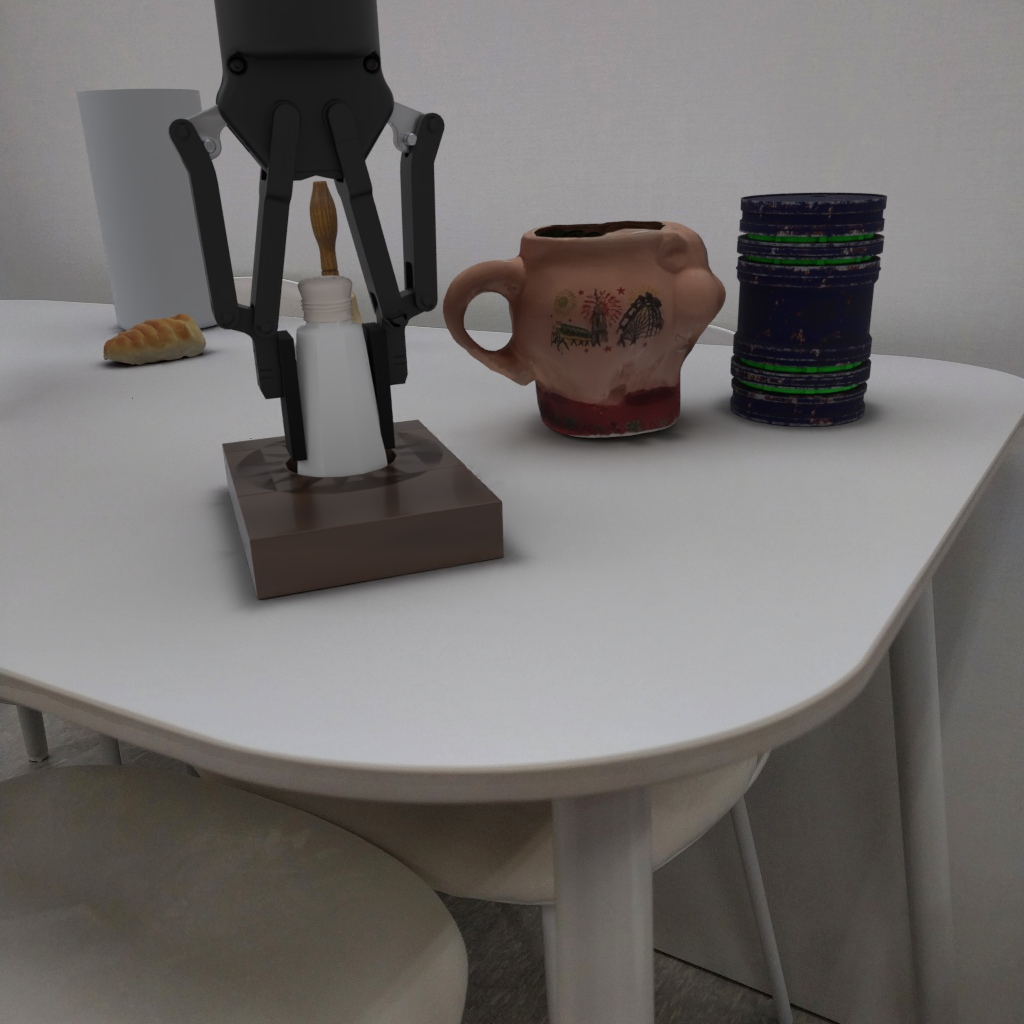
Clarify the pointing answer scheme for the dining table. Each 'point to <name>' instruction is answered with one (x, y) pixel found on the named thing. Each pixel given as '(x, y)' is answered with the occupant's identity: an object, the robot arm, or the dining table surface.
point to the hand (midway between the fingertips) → (340, 447)
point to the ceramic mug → (597, 321)
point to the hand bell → (327, 234)
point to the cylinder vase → (145, 203)
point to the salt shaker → (335, 384)
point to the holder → (359, 515)
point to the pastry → (157, 341)
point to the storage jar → (805, 306)
